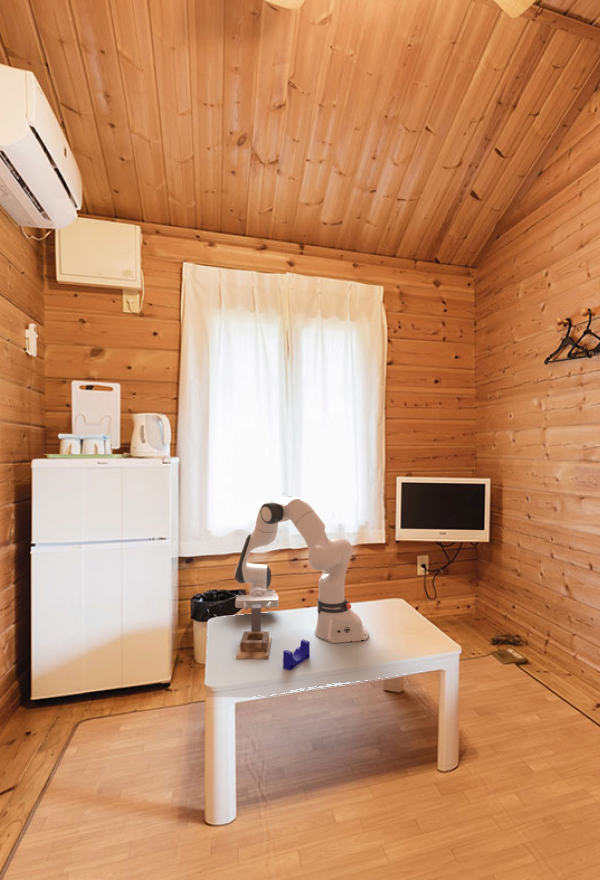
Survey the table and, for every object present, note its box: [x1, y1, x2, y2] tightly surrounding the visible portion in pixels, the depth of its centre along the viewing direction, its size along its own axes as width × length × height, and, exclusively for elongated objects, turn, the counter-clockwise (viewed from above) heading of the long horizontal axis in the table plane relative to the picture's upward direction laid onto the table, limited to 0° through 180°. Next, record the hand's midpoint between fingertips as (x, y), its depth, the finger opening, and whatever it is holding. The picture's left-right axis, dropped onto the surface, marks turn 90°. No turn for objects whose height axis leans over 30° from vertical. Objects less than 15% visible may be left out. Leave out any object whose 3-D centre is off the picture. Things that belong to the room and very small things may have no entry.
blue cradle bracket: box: [282, 639, 311, 671], centre depth 148 cm, size 12×4×6 cm, turn 143°
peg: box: [250, 604, 262, 631], centre depth 170 cm, size 4×4×12 cm
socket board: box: [235, 630, 273, 660], centre depth 158 cm, size 12×16×4 cm
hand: (256, 607), depth 182 cm, fingers open, 8 cm apart
